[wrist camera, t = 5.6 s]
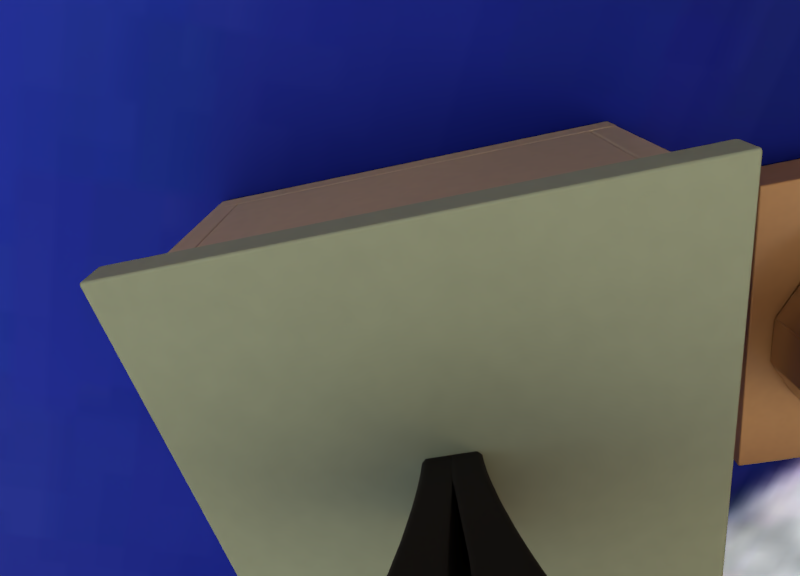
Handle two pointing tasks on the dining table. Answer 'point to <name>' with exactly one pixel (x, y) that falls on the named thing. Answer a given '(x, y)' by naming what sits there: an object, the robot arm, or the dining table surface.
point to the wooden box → (420, 182)
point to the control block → (772, 325)
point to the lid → (462, 367)
